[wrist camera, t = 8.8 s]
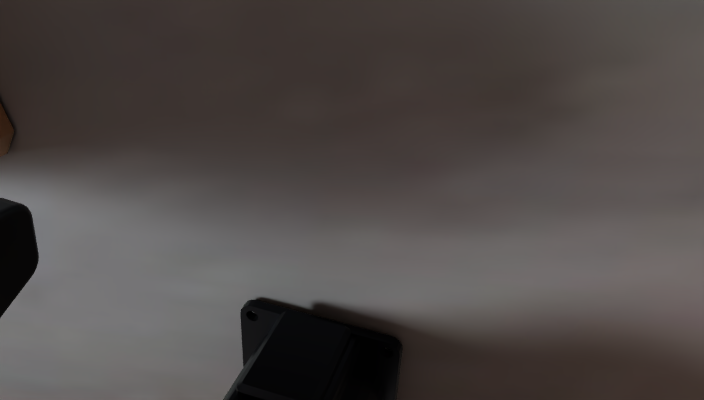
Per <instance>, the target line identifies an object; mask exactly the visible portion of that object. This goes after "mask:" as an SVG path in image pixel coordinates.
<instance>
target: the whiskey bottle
mask: <svg viewBox="0 0 704 400" xmlns="http://www.w3.org/2000/svg"><path fill="white" fill-rule="evenodd" d="M13 134H14V130H13V128H12V126H11V123H10V121H9V119H8V117H7V115H6V113H5V111H4V109H3V107H2V105H1V103H0V157H1V156H3V155H5V154H6V153H8V150H9V147H10V144H11V140H12V137H13Z"/></svg>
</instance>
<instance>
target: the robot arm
mask: <svg viewBox="0 0 704 400" xmlns="http://www.w3.org/2000/svg"><path fill="white" fill-rule="evenodd" d="M38 259H39V254H38V248H37V242H36V236H35V230H34V224H33V219H32V214H31V212H30V210H29V209H28V207H26V206H25V205H23V204H20V203H17V202H14V201H11V200H7V199H4V198H0V317H1V316H2V315H3V313H4V312H5V311H6V310H7V308H8V307H9V306H10V304H11V303H12V302H13V300H14V299H15V298H16V296H17V295H18V294H19V292H20V291H21V290H22V288H23V287H24V286H25V284H26V283H27V282H28V281H29V279H30V278H31V277H32V275H33V274H34V272H35V270H36V268H37V264H38ZM252 311H253V312H255V313H256V314H257V315H256V314H254V313H253V312H252ZM241 330H242V348H243V366H244V368H243V369H242V371H241V372H240V374H239V376H238V377H237V379H236V380H235V382H234V383H233V385H232V387H231V388H230V390H229V391H228V393H227V394H226V396H225V398H224V399H223V400H396V398H397V390H398V381H399V373H400V365H401V357H402V344H401V343H400V341H399V340H398V339H396V338H395V337H393V336H390V335H386V334H382V333H379V332H375V331H371V330H367V329H363V328H360V327H356V326H352V325H348V324H345V323H341V322H337V321H333V320H329V319H326V318H322V317H318V316H314V315H310V314H307V313H303V312H299V311H295V310H292V309H288V308H284V307H280V306H276V305H273V304H269V303H265V302H261V301H258V300H249V301H247V302H246V304H245V305H244V306H243V308H242V309H241ZM385 347H386V348H389V349H391V350H392V351H390V350H387V349H386V348H385Z"/></svg>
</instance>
